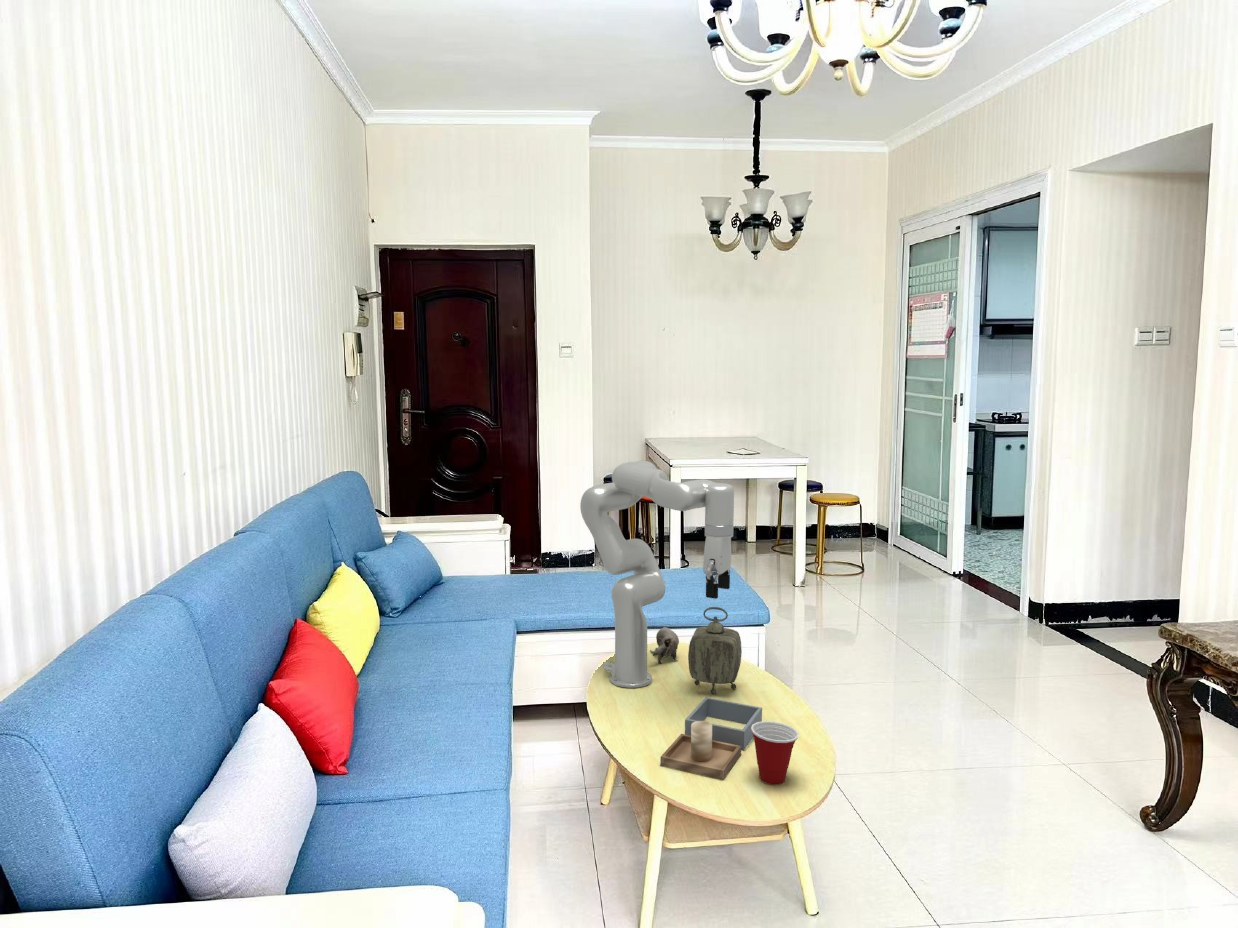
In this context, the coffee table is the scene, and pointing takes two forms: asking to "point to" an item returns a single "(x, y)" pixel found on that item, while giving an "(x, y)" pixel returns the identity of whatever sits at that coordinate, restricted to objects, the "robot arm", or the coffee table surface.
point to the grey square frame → (726, 712)
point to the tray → (715, 768)
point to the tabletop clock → (715, 653)
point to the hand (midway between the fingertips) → (717, 593)
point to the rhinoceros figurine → (666, 644)
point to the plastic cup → (773, 749)
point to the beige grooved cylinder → (701, 741)
